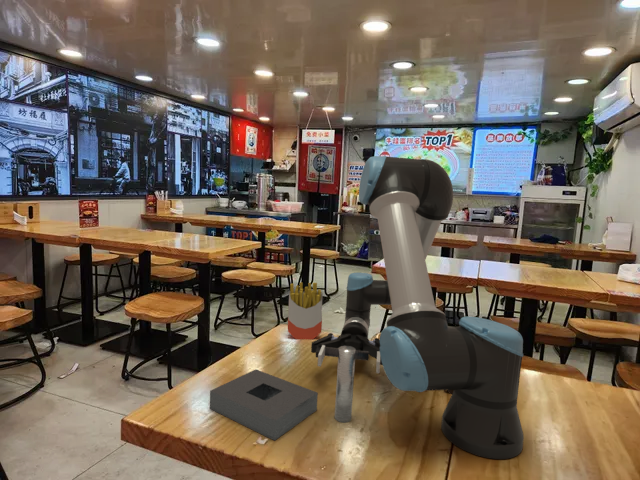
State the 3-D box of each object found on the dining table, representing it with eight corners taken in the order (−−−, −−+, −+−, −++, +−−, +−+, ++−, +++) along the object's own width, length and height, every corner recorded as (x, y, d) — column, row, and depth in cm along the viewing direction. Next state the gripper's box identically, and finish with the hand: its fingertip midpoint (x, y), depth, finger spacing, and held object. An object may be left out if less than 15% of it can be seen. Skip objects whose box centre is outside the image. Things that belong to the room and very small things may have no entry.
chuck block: (316, 410, 86) (317, 392, 86) (274, 440, 74) (275, 420, 74) (255, 385, 96) (255, 369, 96) (209, 408, 84) (210, 390, 84)
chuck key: (364, 416, 85) (369, 348, 83) (363, 425, 81) (368, 354, 80) (323, 410, 86) (326, 343, 84) (320, 419, 83) (324, 349, 81)
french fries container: (321, 340, 129) (324, 285, 128) (287, 339, 128) (290, 284, 126) (319, 335, 134) (322, 282, 132) (287, 334, 133) (289, 281, 131)
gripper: (398, 351, 111) (402, 386, 90) (310, 342, 115) (294, 373, 94) (400, 325, 111) (404, 354, 90) (312, 317, 114) (296, 342, 93)
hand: (348, 364), depth 92 cm, fingers open, 13 cm apart
